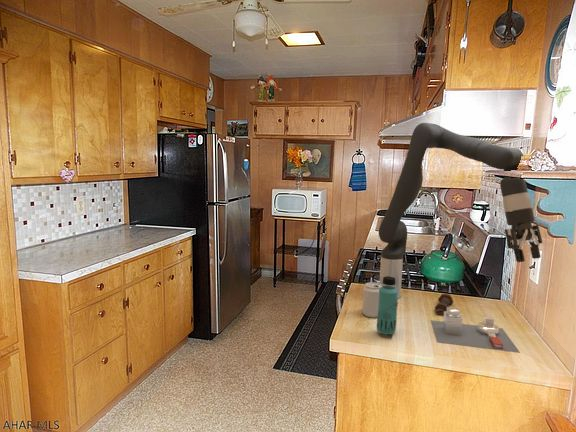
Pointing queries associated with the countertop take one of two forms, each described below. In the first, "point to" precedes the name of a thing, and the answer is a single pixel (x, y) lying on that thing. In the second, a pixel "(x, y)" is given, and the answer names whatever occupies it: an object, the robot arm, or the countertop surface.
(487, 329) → the ratchet
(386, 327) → the beverage bottle
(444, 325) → the metal block with knob
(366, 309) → the can
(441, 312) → the bolt
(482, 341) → the tool mat
